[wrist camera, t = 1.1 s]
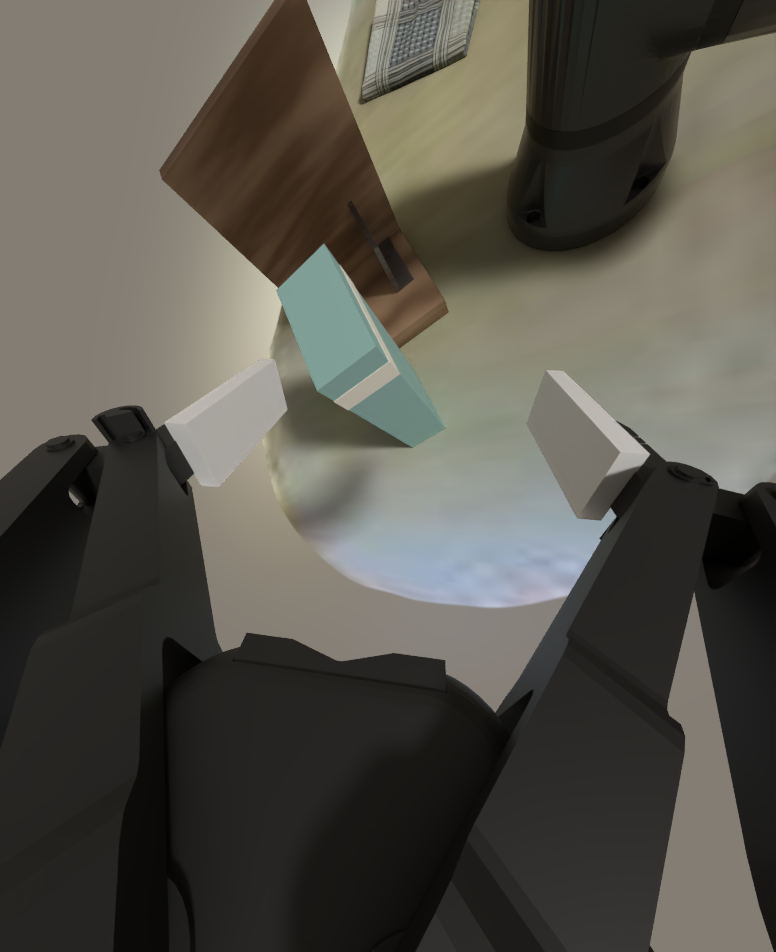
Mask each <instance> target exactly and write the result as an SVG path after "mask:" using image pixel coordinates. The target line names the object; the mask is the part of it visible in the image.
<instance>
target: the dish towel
mask: <svg viewBox="0 0 776 952" xmlns="http://www.w3.org/2000/svg"><path fill="white" fill-rule="evenodd" d="M479 4H480V0H376V6H375V12H374V19H373V25H372V31H371V38H370V43H369V49H368V56H367V63H366V70H365V76H364V82H363V85H362V97H363V100H365V101H369V100H372V99H374V98H377V97H379V96H381V95H383V94H385V93H388V92H390V91H392V90H394V89H396V88H399V87H401V86H404V85H406V84H408V83H410V82H412V81H414V80H416V79H419V78H421V77H423V76H426V75H428V74H431V73H433V72H435V71H437V70H439V69H442V68H444V67H446V66H448V65H450V64H452V63H454V62H456V61H458V60H460V59H462V58H464V57H466V56H467V50H468V46H469V42H470V38H471V34H472V31H473V26H474V22H475V18H476V15H477V11H478V8H479Z"/></svg>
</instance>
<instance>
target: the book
mask: <svg viewBox="0 0 776 952" xmlns="http://www.w3.org/2000/svg"><path fill="white" fill-rule="evenodd" d="M277 293H278V296H279V298H280V300H281V303H282V306H283V308H284V311H285V313H286V315H287V318H288V320H289V323H290V325H291V328H292V330H293V333H294V335H295V338H296V340H297V343H298V345H299V348H300V350H301V353H302V355H303V358H304V360H305V363H306V365H307V368H308V370H309V373H310V375H311V377H312V380H313V382H314V385H315V387H316V390H317V391H318V392H319V393H321V394H323V395H324V396H326V397H328V398H329V399H331V400H333V401H334V403H336V404H338V405H340V406H341V407H343V408H345V409H346V410H350V411H351V412H353V413H355V414H357V415H358V416H360V417H362V418H363V419H365V420H367V421H368V422H370V423H372V424H373V425H375V426H377V427H378V428H380V429H382V430H384V431H385V432H387V433H389V434H390V435H392V436H394V437H395V438H397V439H399V440H400V441H402V442H404V443H406V444H407V445H409V446H411V447H412V448H413V447H414V446H416V445H418V444H420V443H421V442H423V441H425V440H426V439H428V438H430V437H432V436H433V435H435V434H437V433H438V432H440V431H442V430H443V429H445V426H444V424H443V422H442V421H441V419H440V417H439V415H438V413H437V411H436V409H435V408H434V406H433V404H432V402H431V400H430V398H429V396H428V395H427V393H426V391H425V389H424V387H423V385H422V383H421V382H420V380H419V378H418V376H417V374H416V372H415V370H414V369H413V367H412V366H411V364H410V363H409V362H408V360H407V359H406V357H405V356H404V355H403V353H402V352H401V350H400V349H399V348H398V346H397V345H396V343H395V342H394V341H393V339H392V338H391V336H390V335H389V334H388V332H387V331H386V329H385V328H384V327H383V325H382V324H381V322H380V321H379V320H378V318H377V317H376V315H375V314H374V313H373V311H372V310H371V309H370V307H369V306H368V304H367V303H366V302H365V300H364V299H363V297H362V296H361V295H360V293H359V292H358V290H357V289H356V288H355V286H354V284H353V282H352V281H351V279H350V278H349V277H348V275H347V274H346V272H345V271H344V270H343V268H342V267H341V265H339V264H338V262H337V261H336V260H335V258H334V257H333V255H332V254H331V253H330V251H329V250H328V248H327V247H326V246H325V244H323V245H322V246H321V247H320V248H319V249H318V250H317V251H316V252H315V253H314V254H313V255H312V256H311V257H310V258H309V259H308V260H307V261H306V262H305V263H304V264H303V265H302V266H301V267H300V268H299V269H298V270H296V271H295V272H294V273H293V274H292V275H291V276H290V277H289V278H288V279H287V280H286V281H285V282H284V283H283V284H282V285H281V286H280V287H279V288H278V289H277Z"/></svg>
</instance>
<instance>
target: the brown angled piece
mask: <svg viewBox="0 0 776 952" xmlns="http://www.w3.org/2000/svg"><path fill="white" fill-rule="evenodd" d="M159 171H160V174H161V177H162V180H163V181H164V182H165V183H166V184H168V185H169V186H170V187H171V188H172V189H173V190H174V191H175V192H176V193H177V194H178V195H179V196H180V197H181V198H183V199H184V200H185V201H186V202H187V203H188V204H189V205H190V206H191V207H192V208H193V209H194V210H195V211H196V212H198V213H199V214H200V215H201V216H202V217H203V218H204V219H205V220H206V221H207V222H208V223H209V224H210V225H211V226H213V227H214V228H215V229H216V230H217V231H218V232H219V233H220V234H221V235H222V236H223V237H224V238H225V239H226V240H228V241H229V242H230V243H231V244H232V245H233V246H234V247H235V248H236V249H237V250H238V251H239V252H240V253H242V254H243V255H244V256H245V257H246V258H247V259H248V260H249V261H250V262H251V263H252V264H253V265H254V266H255V267H256V268H258V269H259V270H260V271H261V272H262V273H263V274H264V275H265V276H266V277H267V278H268V279H269V280H270V281H271V282H273V283H274V284H275V285H276V286H277V287H278V288H279V287H280V286H281V285H282V284H283V283H284V282H285V281H286V280H287V279H288V278H289V277H290V276H291V275H292V274H293V273H294V272H295V271H296V270H298V269H299V268H300V267H301V266H302V265H303V264H304V263H305V262H306V261H307V260H308V259H309V258H310V257H311V256H312V255H313V254H314V253H315V252H316V251H317V250H318V249H319V248H320V247H321V246H322V245H323V244H325V246H326V247H327V248H328V250H329V251H330V253H331V254H332V255H333V257H334V258H335V260H336V261H337V262H338V264H339V265H341V267H342V268H343V270H344V271H345V272H346V274H347V275H348V277H349V278H350V279H351V281H352V282H353V284H354V286H355V288H356V289H357V290H358V292H359V293H360V295H361V296H362V297H363V299H364V300H365V302H366V303H367V304H368V306H369V307H370V309H371V310H372V311H373V313H374V314H375V315H376V317H377V318H378V320H379V321H380V322H381V324H382V325H383V327H384V328H385V329H386V331H387V332H388V334H389V335H390V336H391V338H392V339H393V341H394V342H395V343H396V345H397V346H398V348H400V347H402V346H403V345H404V344H406V343H407V342H409V341H410V340H411V339H413V338H414V337H415V336H417V335H418V334H419V333H421V332H422V331H424V330H425V329H426V328H428V327H429V326H430V325H432V324H433V323H434V322H436V321H437V320H438V319H440V318H441V317H443V316H444V315H445V314H447V313H448V309H447V306H446V302H445V299H444V298H443V296H442V295H441V293H440V292H439V290H438V288H437V287H436V285H435V284H434V282H433V281H432V279H431V277H430V276H429V274H428V273H427V271H426V270H425V268H424V266H423V265H422V263H421V262H420V260H419V259H418V257H417V255H416V254H415V252H414V251H413V249H412V248H411V246H410V244H409V243H408V241H407V240H406V238H405V237H404V235H403V233H402V232H401V230H400V229H399V226H398V224H397V221H396V219H395V216H394V214H393V211H392V209H391V206H390V204H389V202H388V199H387V197H386V194H385V192H384V189H383V187H382V184H381V182H380V179H379V177H378V175H377V172H376V170H375V167H374V165H373V162H372V160H371V157H370V155H369V152H368V150H367V147H366V145H365V143H364V140H363V138H362V135H361V133H360V130H359V128H358V125H357V123H356V120H355V118H354V116H353V113H352V111H351V108H350V106H349V103H348V101H347V98H346V96H345V93H344V91H343V89H342V86H341V84H340V81H339V79H338V76H337V74H336V71H335V69H334V67H333V64H332V62H331V59H330V57H329V54H328V52H327V49H326V47H325V45H324V42H323V39H322V37H321V34H320V32H319V30H318V27H317V25H316V22H315V20H314V17H313V15H312V12H311V10H310V7H309V5H308V3H307V0H274V2H273V3H272V5H271V6H270V8H269V9H268V11H267V12H266V14H265V15H264V17H263V18H262V20H261V21H260V22H259V24H258V26H257V27H256V28H255V30H254V31H253V33H252V34H251V36H250V37H249V39H248V40H247V42H246V44H245V45H244V46H243V48H242V49H241V51H240V52H239V54H238V55H237V57H236V58H235V60H234V61H233V62H232V64H231V65H230V67H229V68H228V70H227V71H226V73H225V74H224V76H223V77H222V79H221V80H220V82H219V83H218V85H217V86H216V87H215V89H214V90H213V92H212V93H211V95H210V96H209V98H208V99H207V101H206V102H205V104H204V105H203V107H202V108H201V110H200V111H199V113H198V114H197V116H196V117H195V119H194V120H193V122H192V123H191V125H190V126H189V128H188V129H187V130H186V132H185V133H184V135H183V136H182V138H181V139H180V141H179V142H178V144H177V145H176V147H175V148H174V150H173V151H172V152H171V154H170V155H169V157H168V159H167V160H166V161H165V163H164V164H163V166H162V167H161V169H160V170H159ZM350 201H352V203H353V204H354V206H355V208H356V209H357V211H358V213H359V215H360V216H361V218H362V220H363V221H364V223H365V225H366V227H367V228H368V230H369V232H370V233H371V235H372V237H373V238H374V240H375V242H376V244H377V245H379V244H380V243H381V242H383V241H384V240H385V239H386V238H387V237H389V239H390V240H391V242H392V244H393V245H394V247H395V249H396V250H397V252H398V254H399V255H400V257H401V258H402V260H403V262H404V263H405V265H406V267H407V268H408V270H409V272H410V273H411V275H412V276H413V278H414V280H413V281H411V282H410V283H409V284H408V285H406V286H405V287H404V288H403V289H402V290H400V291H399V292H398V293H397V292H396V290H395V289H394V287H393V285H392V283H391V282H390V280H389V278H388V277H387V275H386V273H385V271H384V270H383V268H382V266H381V264H380V263H379V261H378V259H377V257H376V256H375V254H374V252H373V250H372V248H371V247H370V245H369V243H368V241H367V239H366V237H365V236H364V234H363V232H362V230H361V228H360V227H359V225H358V223H357V221H356V219H355V217H354V216H353V214H352V212H351V210H350V208H349V206H348V205H347V204H348V203H349V202H350Z"/></svg>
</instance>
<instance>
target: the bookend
mask: <svg viewBox="0 0 776 952" xmlns="http://www.w3.org/2000/svg"><path fill="white" fill-rule="evenodd" d="M347 205H348V206H349V208H350V210H351V212H352V214H353V216H354V217H355V219H356V221H357V223H358V225H359V227H360V228H361V230H362V232H363V234H364V236H365V237H366V239H367V241H368V243H369V245H370V247H371V248H372V250H373V252H374V254H375V256H376V257H377V259H378V261H379V263H380V264H381V266H382V268H383V270H384V271H385V273H386V275H387V277H388V278H389V280H390V282H391V283H392V285H393V287H394V289H395V290H396V292H397V293H398V292H399V291H400V290H402V289H403V288H404V287H405V286H406V285H408V284H409V283H410V282H411V281H413V280H414V278H413V276H412V275H411V273H410V272H409V270H408V268H407V267H406V265H405V263H404V262H403V260H402V258H401V257H400V255H399V254H398V252H397V250H396V249H395V247H394V245H393V244H392V242H391V240H390V239H389V237H387V238H386V239H385V240H384V241H383V242H381V243H380V244H379V245H377V244H376V242H375V240H374V238H373V237H372V235H371V233H370V232H369V230H368V228H367V227H366V225H365V223H364V221H363V220H362V218H361V216H360V215H359V213H358V211H357V209H356V208H355V206H354V204H353V203H352V201H350V202H349V203H348V204H347Z"/></svg>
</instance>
